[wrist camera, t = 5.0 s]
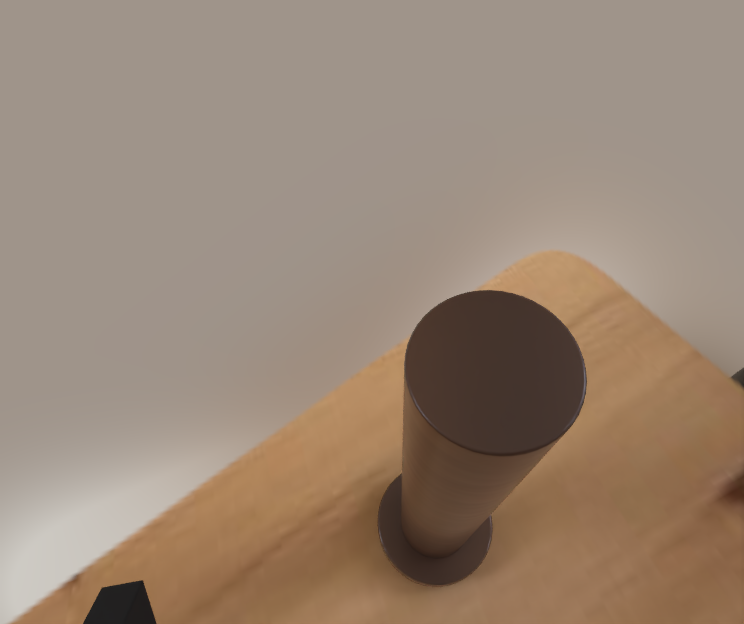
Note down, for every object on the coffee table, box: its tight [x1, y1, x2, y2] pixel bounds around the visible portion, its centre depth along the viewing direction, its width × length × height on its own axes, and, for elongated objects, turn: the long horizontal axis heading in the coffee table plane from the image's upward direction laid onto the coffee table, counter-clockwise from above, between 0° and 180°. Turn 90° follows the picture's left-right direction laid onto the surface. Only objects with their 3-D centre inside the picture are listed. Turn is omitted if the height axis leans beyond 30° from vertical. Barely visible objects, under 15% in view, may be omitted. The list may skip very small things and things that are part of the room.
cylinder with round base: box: [378, 290, 587, 587], centre depth 15 cm, size 4×4×16 cm
